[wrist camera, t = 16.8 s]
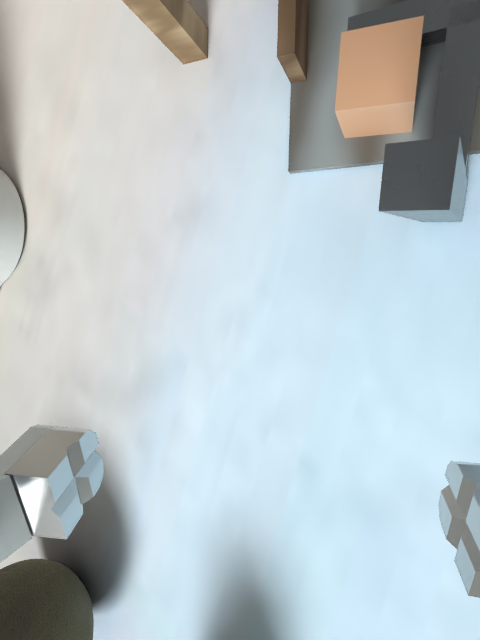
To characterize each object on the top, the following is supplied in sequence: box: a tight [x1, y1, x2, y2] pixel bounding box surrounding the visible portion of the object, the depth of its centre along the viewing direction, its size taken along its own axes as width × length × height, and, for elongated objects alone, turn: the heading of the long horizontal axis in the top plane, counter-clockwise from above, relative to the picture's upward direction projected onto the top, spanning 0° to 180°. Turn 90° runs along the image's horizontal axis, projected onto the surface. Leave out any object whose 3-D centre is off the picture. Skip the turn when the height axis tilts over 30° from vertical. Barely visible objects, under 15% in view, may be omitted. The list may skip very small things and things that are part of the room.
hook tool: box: [347, 0, 480, 222], centre depth 19 cm, size 8×13×14 cm, turn 176°
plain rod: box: [122, 0, 208, 64], centre depth 28 cm, size 2×2×8 cm
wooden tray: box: [277, 0, 480, 174], centre depth 23 cm, size 14×19×4 cm
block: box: [335, 16, 424, 138], centre depth 23 cm, size 4×4×4 cm
